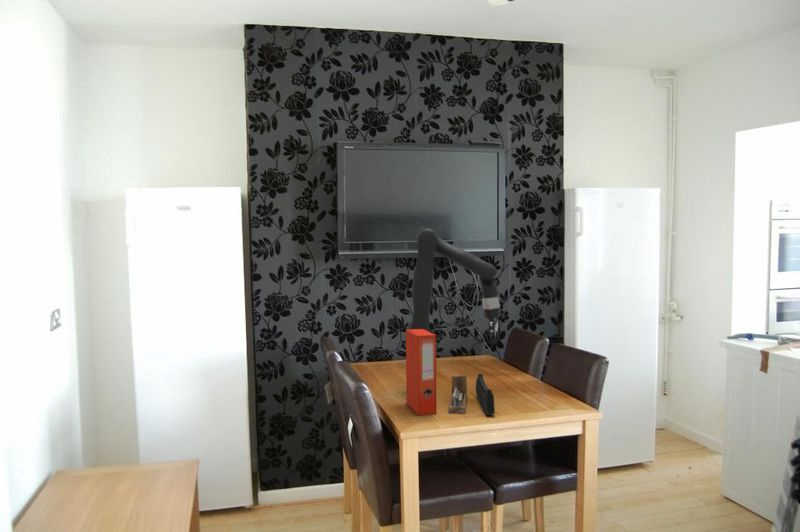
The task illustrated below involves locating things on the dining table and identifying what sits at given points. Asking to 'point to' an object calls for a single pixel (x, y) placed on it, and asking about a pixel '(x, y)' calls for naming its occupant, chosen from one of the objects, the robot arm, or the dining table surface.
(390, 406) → the dining table surface
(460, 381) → the rack
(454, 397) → the offcut stack
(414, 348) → the file binder
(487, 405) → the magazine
